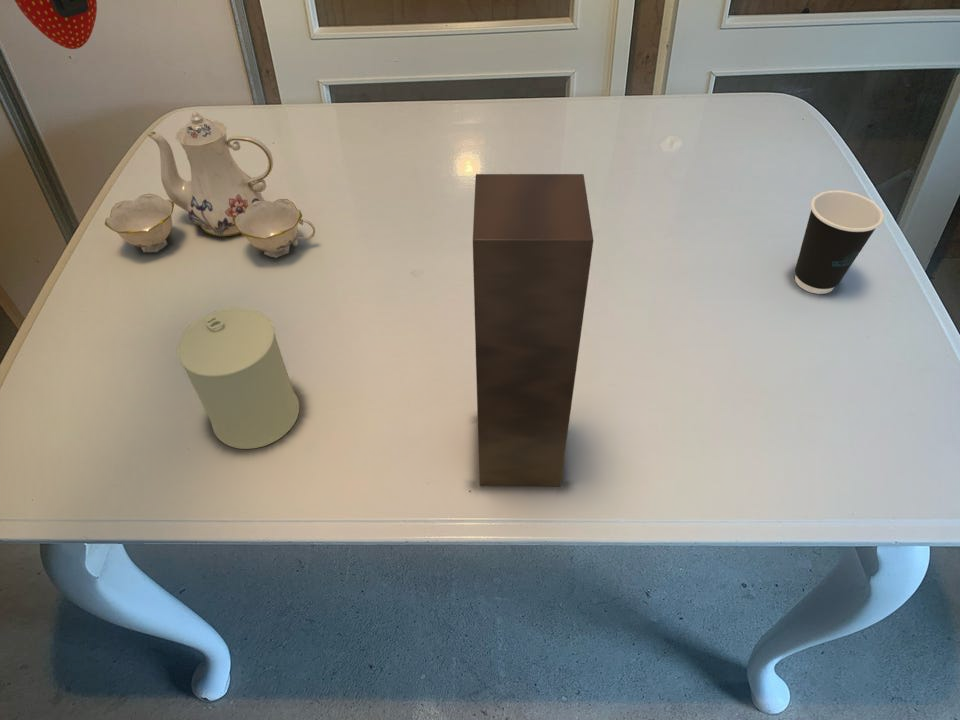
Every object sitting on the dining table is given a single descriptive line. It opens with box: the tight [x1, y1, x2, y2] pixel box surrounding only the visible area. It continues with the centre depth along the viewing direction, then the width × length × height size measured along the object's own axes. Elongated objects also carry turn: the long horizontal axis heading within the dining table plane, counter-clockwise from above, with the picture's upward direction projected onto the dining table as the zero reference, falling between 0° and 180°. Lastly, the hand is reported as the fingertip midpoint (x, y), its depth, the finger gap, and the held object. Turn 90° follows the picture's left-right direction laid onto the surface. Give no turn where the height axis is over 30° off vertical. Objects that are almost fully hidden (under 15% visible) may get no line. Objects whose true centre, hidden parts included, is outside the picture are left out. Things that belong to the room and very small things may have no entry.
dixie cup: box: [794, 189, 885, 295], centre depth 83 cm, size 8×8×11 cm
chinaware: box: [104, 111, 316, 259], centre depth 90 cm, size 28×17×17 cm, turn 91°
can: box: [176, 307, 300, 450], centre depth 69 cm, size 9×9×12 cm
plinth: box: [472, 173, 594, 487], centre depth 59 cm, size 8×8×30 cm
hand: (58, 2), depth 51 cm, fingers closed on fruit, 5 cm apart
